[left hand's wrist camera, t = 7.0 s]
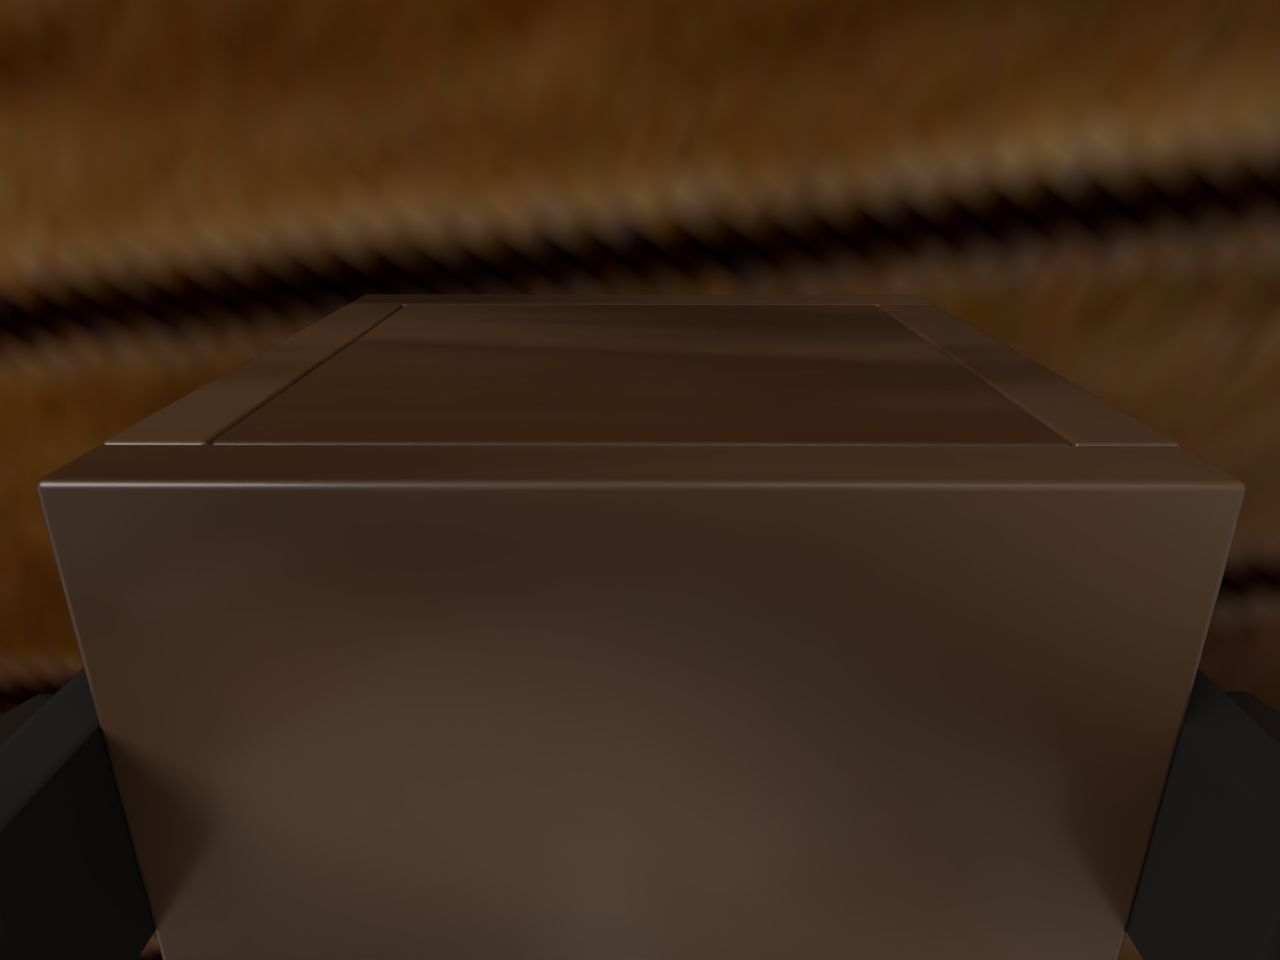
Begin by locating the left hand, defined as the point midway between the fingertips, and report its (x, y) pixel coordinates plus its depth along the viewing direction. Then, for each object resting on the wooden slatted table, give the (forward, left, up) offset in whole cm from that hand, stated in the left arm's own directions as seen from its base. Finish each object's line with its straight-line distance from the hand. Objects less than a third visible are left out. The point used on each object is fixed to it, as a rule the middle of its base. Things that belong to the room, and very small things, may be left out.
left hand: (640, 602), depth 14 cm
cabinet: (+1, +5, -5) cm, 7 cm away
